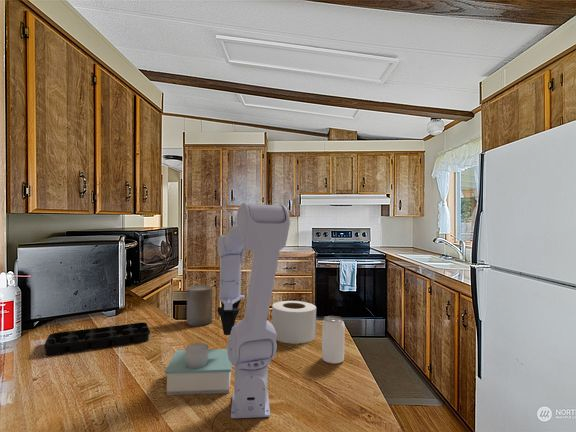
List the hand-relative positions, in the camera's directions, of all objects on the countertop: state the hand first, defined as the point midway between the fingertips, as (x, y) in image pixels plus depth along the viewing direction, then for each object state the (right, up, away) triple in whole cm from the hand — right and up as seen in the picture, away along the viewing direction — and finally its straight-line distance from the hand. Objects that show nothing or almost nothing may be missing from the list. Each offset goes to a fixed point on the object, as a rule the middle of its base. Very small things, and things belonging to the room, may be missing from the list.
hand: (229, 329), depth 90 cm
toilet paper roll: (+18, -12, +27) cm, 34 cm away
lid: (-5, -5, -8) cm, 11 cm away
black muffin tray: (-44, -10, +17) cm, 49 cm away
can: (+29, -11, +7) cm, 32 cm away
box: (-5, -10, -8) cm, 14 cm away
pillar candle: (-19, -11, +40) cm, 46 cm away
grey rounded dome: (-6, -4, -11) cm, 13 cm away
